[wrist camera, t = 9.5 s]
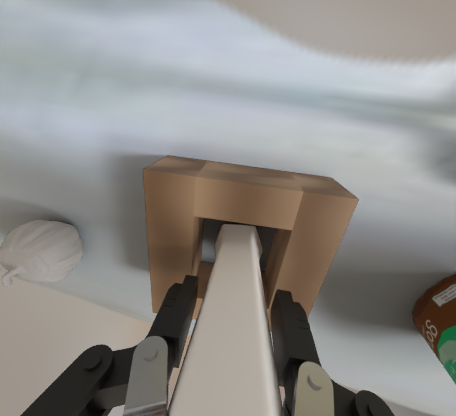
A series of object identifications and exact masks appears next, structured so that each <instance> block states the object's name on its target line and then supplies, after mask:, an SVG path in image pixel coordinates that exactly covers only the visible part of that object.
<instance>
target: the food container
mask: <svg viewBox="0 0 456 416" xmlns="http://www.w3.org/2000/svg"><path fill="white" fill-rule="evenodd" d="M412 315H413V321H414V324H415V325H416V327H417V328H418V330H419V331H420V333H421V334H422V336H423V337H424V339H425V340H426V341H427V343H428V344H429V346H430V347H431V349H432V350H433V352H434V353H435V355H436V356H437V358H438V359H439V360H440V362H441V363H442V365H443V366H444V368H445V369H446V371H447V372H448V374H449V375H450V376H451V378H452V379H453V381H454V382H455V384H456V274H455V275H453V276H450V277H448V278H446V279H443V280H442V281H440V282H439V283H437V284H436V285H434V286H433V287H431V288H430V289H428V290H427V291H426V292H425V293H424V294H423V295H422V296H421V297H420V298H419V299H418V301H417V302H416V305H415V307H414V309H413V312H412Z"/></svg>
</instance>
